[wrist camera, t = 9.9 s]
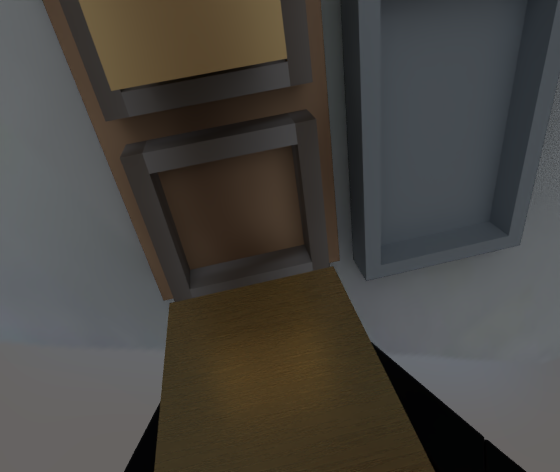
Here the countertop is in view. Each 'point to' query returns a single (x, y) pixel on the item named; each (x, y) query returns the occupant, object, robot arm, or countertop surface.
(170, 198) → the pallet
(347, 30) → the tray
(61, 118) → the countertop surface
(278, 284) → the block
